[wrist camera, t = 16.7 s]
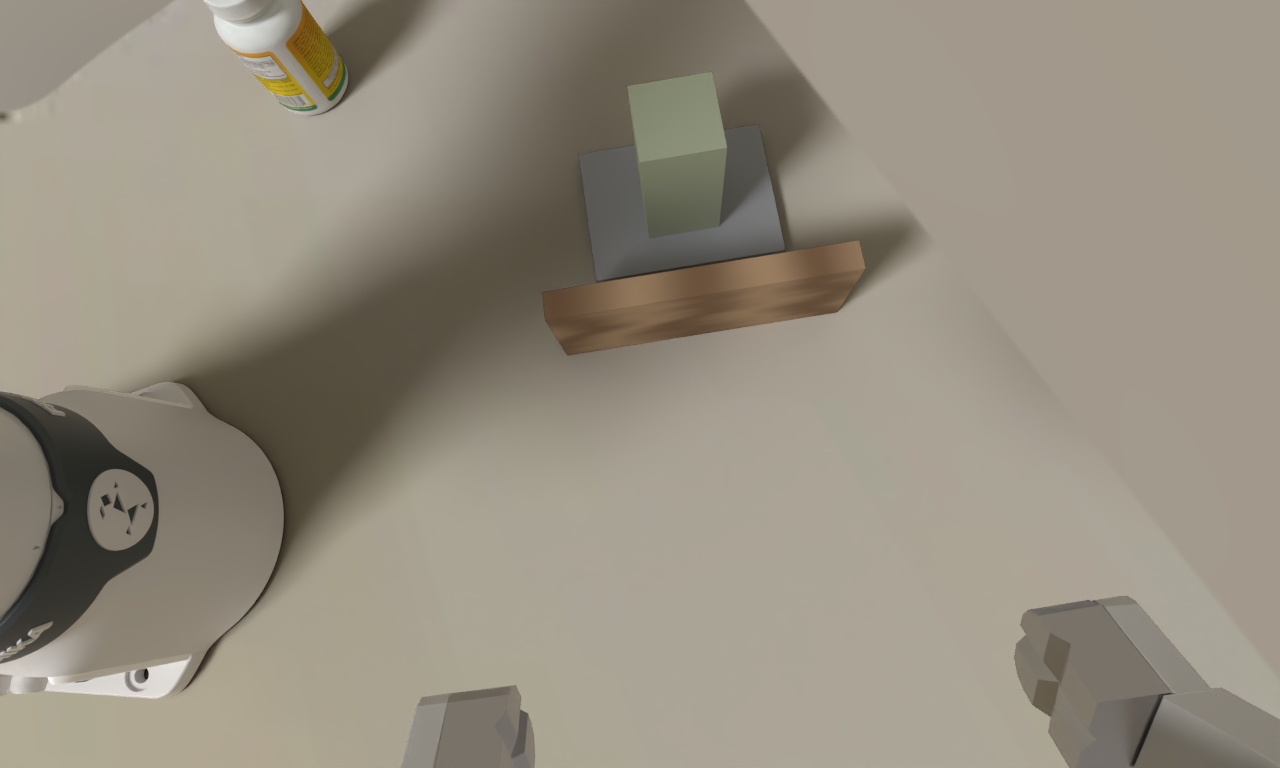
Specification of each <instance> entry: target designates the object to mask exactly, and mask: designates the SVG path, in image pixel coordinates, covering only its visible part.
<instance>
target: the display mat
mask: <svg viewBox="0 0 1280 768" xmlns="http://www.w3.org/2000/svg"><path fill="white" fill-rule="evenodd" d="M724 134H725V139H726V144H727V154H726V164H725V174H724V184H723V194H722V203H721V213H720V223H719V227H715V228H709V229H703V230H697V231H691V232H685V233H679V234H673V235H667V236H661V237H655V238H649V236H648V229H647V223H646V217H645V211H644V205H643V199H642V192H641V186H640V180H639V174H638V166H637V158H636V151H635V145H631V146H625V147H619V148H613V149H607V150H601V151H595V152H589V153H584V154H578V155H579V162H580V169H581V176H582V183H583V190H584V197H585V205H586V212H587V219H588V226H589V233H590V240H591V247H592V254H593V262H594V269H595V276H596V282H597V283H601V282H607V281H613V280H619V279H625V278H631V277H638V276H644V275H650V274H656V273H662V272H668V271H674V270H681V269H687V268H693V267H699V266H705V265H711V264H717V263H723V262H730V261H736V260H742V259H748V258H754V257H760V256H766V255H772V254H779V253H785V245H784V240H783V236H782V231H781V226H780V222H779V217H778V212H777V207H776V203H775V198H774V193H773V188H772V184H771V179H770V174H769V170H768V165H767V160H766V155H765V151H764V146H763V141H762V136H761V132H760V127H759V124H755V125H749V126H743V127H737V128H731V129H725V130H724Z"/></svg>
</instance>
